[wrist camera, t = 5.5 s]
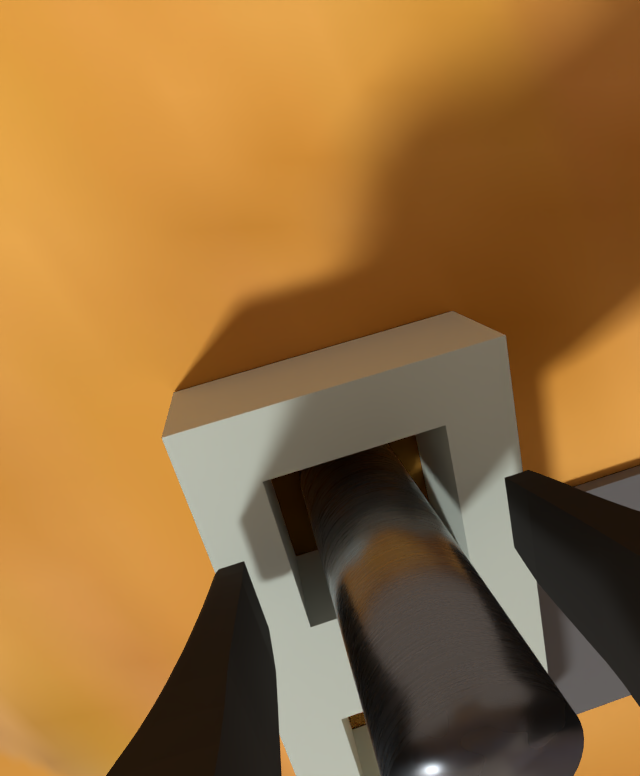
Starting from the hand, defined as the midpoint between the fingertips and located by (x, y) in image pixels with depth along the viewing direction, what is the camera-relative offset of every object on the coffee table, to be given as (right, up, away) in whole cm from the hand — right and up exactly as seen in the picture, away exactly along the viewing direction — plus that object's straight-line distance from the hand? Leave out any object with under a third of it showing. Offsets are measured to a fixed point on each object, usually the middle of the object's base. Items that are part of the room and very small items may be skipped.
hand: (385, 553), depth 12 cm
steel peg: (-1, +1, +4) cm, 4 cm away
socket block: (0, -2, +5) cm, 6 cm away
